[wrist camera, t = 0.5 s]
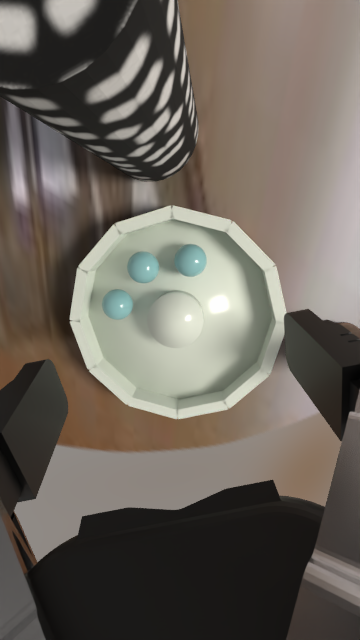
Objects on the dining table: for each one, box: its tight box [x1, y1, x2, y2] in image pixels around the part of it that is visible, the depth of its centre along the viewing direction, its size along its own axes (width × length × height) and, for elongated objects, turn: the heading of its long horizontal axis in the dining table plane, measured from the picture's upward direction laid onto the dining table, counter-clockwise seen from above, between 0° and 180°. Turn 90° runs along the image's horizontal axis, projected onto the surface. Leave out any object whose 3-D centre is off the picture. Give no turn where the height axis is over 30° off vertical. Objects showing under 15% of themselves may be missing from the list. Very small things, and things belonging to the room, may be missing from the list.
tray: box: [69, 205, 286, 419], centre depth 30 cm, size 19×19×4 cm
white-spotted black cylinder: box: [0, 0, 198, 181], centre depth 19 cm, size 8×8×20 cm
